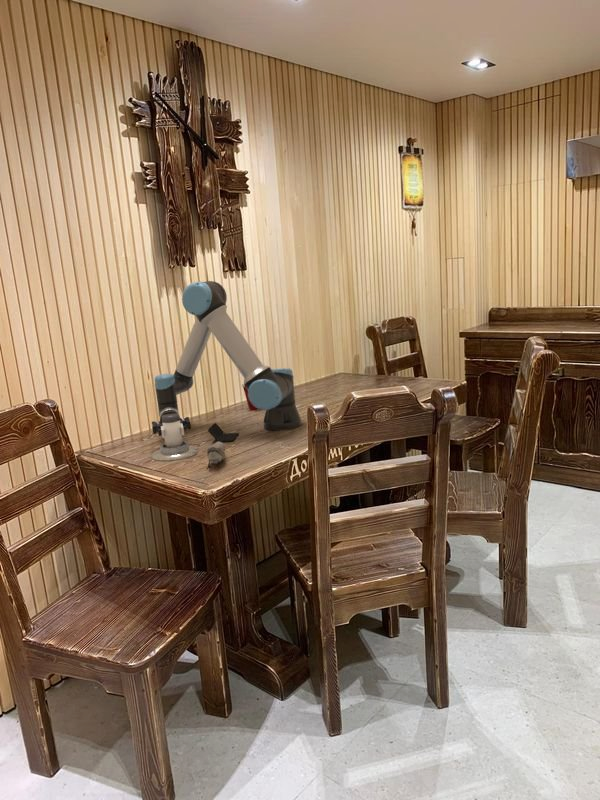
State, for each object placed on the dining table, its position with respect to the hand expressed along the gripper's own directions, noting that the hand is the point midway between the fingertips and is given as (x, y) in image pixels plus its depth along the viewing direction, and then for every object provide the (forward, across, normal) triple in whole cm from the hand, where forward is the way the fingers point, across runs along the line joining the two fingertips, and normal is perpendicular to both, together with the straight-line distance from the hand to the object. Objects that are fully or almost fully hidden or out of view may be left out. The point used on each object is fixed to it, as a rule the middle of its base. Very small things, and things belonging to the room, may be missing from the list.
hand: (172, 432), depth 204 cm
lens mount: (-5, 0, -9) cm, 10 cm away
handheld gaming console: (-17, -19, -10) cm, 27 cm away
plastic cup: (-63, -40, -9) cm, 75 cm away
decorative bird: (+14, -13, -9) cm, 21 cm away
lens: (-5, 0, -7) cm, 9 cm away
